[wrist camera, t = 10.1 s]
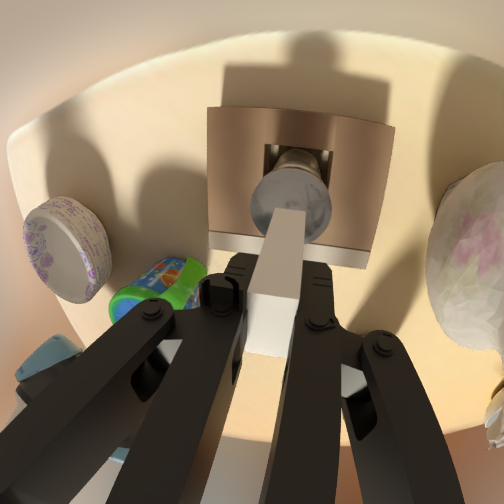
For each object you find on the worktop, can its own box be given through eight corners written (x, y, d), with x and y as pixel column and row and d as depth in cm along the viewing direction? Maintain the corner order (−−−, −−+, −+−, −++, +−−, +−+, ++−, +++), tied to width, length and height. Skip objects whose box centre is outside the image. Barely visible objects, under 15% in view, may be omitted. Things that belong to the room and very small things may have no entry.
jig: (220, 231, 32) (209, 248, 28) (220, 106, 24) (206, 107, 21) (360, 249, 29) (365, 269, 26) (383, 124, 22) (395, 127, 19)
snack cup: (177, 323, 42) (150, 372, 33) (127, 278, 39) (90, 322, 30) (247, 279, 34) (225, 339, 26) (186, 217, 32) (143, 264, 23)
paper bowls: (137, 277, 38) (109, 311, 32) (75, 274, 42) (48, 300, 35) (106, 179, 31) (64, 201, 24) (45, 195, 34) (11, 216, 28)
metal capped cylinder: (270, 191, 28) (248, 240, 19) (273, 142, 25) (251, 165, 16) (320, 197, 27) (325, 250, 18) (326, 148, 25) (337, 175, 15)
